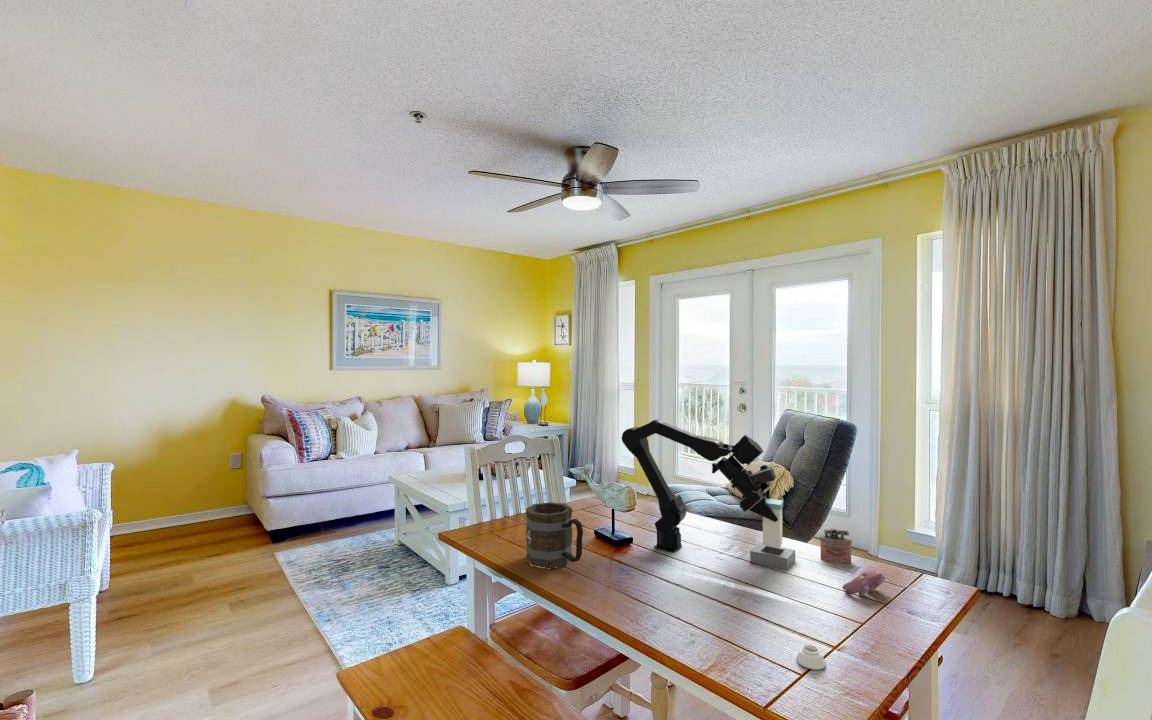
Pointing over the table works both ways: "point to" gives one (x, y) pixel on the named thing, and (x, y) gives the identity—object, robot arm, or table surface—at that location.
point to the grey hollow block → (772, 556)
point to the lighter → (836, 546)
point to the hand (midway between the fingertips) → (778, 518)
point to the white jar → (810, 657)
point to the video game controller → (864, 583)
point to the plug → (773, 525)
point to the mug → (551, 535)
